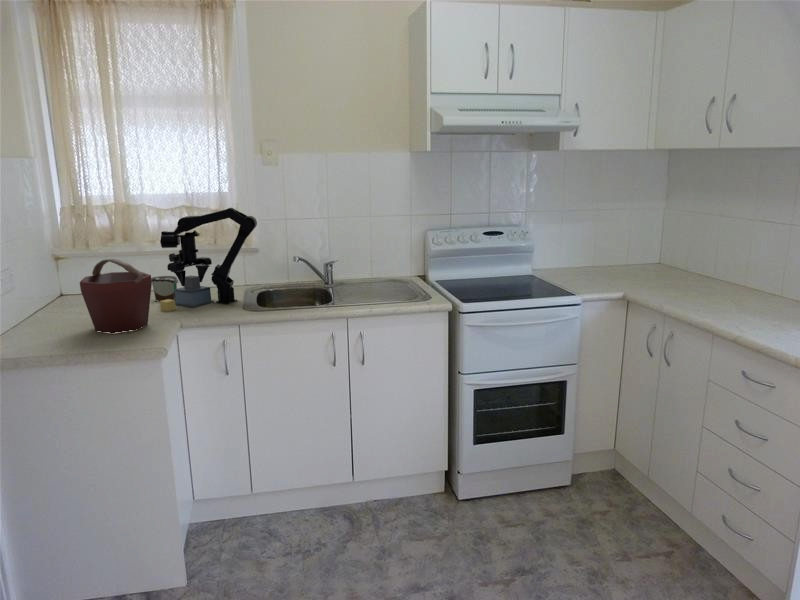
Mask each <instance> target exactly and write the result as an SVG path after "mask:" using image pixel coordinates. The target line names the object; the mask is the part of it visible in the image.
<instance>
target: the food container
mask: <svg viewBox="0 0 800 600" xmlns="http://www.w3.org/2000/svg"><path fill="white" fill-rule="evenodd" d="M151 281H152V289H153V294H154V298H155V301H156V300H160V301H163V300H167V299H170V300H175V302H176V298H175V289H178V285H177V284H178V283H179V279H178V277H177V276H176V275H161V276H154V277H151ZM160 301H159V302H160Z"/></svg>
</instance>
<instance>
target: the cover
mask: <svg viewBox="0 0 800 600" xmlns="http://www.w3.org/2000/svg"><path fill="white" fill-rule="evenodd" d="M175 298H176V301H175V303H176V304H183V305H189V306H195V305H199V304H202V303H206V302H210V301H211V300H212V293H211V287H209V286H203V285H201V282H200V278H199V276H198V275H191V274H190V275H187V276H186V275H185V286H182V287H180V288H177V289H175Z"/></svg>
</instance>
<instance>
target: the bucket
mask: <svg viewBox="0 0 800 600" xmlns="http://www.w3.org/2000/svg"><path fill="white" fill-rule="evenodd" d="M107 263H113V264H115V265H117V266H119V267H121V268H123V269H124V270H125V271H113V272H106V273H101V272H102V269H103V267H104V266H105V265H106V264H107ZM91 274H92V275H88V276H85V277H84V278H82V280H80V281H79V287H80V291H81V292H80V293H81V295H82V298H83V300H84V303H85V306H86V309H87V311H88V313H89V317H90V319H91V322H92V325H93V327H94V329H95V332H96V331H101V332H110V333H115V332H122V331H129V330H136V329H139V328H141V327H143V326H145V325H147V326H148V325H149V323H148V322H149V317H150V316H149V313H150V304H151V294H152V287H153V285H152V281H151V278H152V275H151V274H148V273H146V272H143V271H140V270H138V269H137V268H135V267H134V266H132V265H131V264H129V263H128V262H125V261H122V260H120V259H116V258H108V259H102V260H100V261H99V262H97V263H96V264H95V265H94V267H93V269H92V272H91ZM145 327H146V326H145ZM143 328H144V327H143ZM141 329H142V328H141ZM139 330H140V329H139Z"/></svg>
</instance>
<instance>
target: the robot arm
mask: <svg viewBox="0 0 800 600" xmlns="http://www.w3.org/2000/svg"><path fill="white" fill-rule="evenodd" d="M227 219H230V220H232V221H233V222H235V223H236V224H238V225H239V227H238V231H237V232H238V233H237V235H236V237H235V239H234V240H233V242H232V244H231V247H230V249H229V251H228V253H227V254H226V256H225V258H224V259H223V261H222V263H221V264H219V263H218V264H217V265H216V266H215V267H214V270H213V271H212V273H211V275H210V276H211V279H210V280H211V282H212V284H213V285H215V286H216V288H217V292H216V293H217V300H216V301H215V303H218V304H224V305H225V304H226V305H228V304H231V303H235V302H237V301H238V299H235V288H234V287H233V285H234V283H235V280H233V279H232V278H231V277H230V273H231V268H232V266H233V264H234V262H235V260H236V259H237V256H238V255H239V252H240V251H241V249H242V247H243V245H244V244H245V242H246V240H247V238H248V237H249V235H251V233H253V231H254V230H255V229H256V227H257V225H258V221H257V219H256V217H255V216H252V215H247V214H245V213H243V212H241V211H238V210H237V209H235V208H234V207H229V208H227V209H222V210H218V211H215V212H210V213H207V214H201V215H188V216H183V217H182V218H179V219H178V221H177V224H176V225H177V226H176V228H175V229H174V231H165V230H164V231H161V234H160V241H159V242H160V243H159V244H160V246H161V248H162V249H175V248H178V247H179V246H180V249H179V251H178V254H177V253H176V254H175V252H174V253H170V254H169V255H168V260H169V263H168V264H167V271H170V272H171V273H174V274H175V277H176V278H177V279H178V282H179V283H180V285H181V287H184V286H185V277H186V270H185V268H189V267H193V266H194V267H195V268H196V269H197V276H199V278H200V283H203V280H204V278H205V275H206V274H207V273H206V272H207V271H208V269H209V267H210V265H212V264H213V262H212V258H211V257H207V256H206V257H205V256H202V257H197V253H199V249H197V247H196V246H197V245H196V238H197V237H199V236H201V234H200V233H199V232H198V231H197V230H196V229H195V228H197V227H200V226H202V225H206V224H210V223H215V222H218V221H223V220H227ZM193 229H195V230H193ZM191 230H193V231H191ZM182 233H184V234H182Z"/></svg>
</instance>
